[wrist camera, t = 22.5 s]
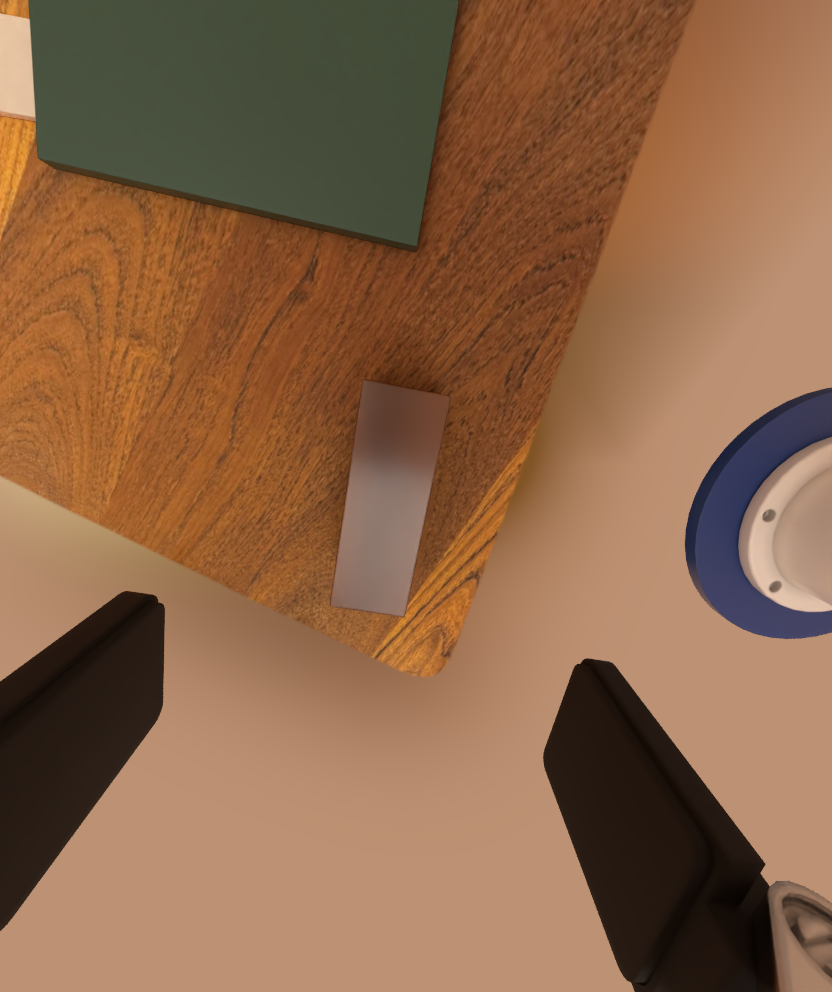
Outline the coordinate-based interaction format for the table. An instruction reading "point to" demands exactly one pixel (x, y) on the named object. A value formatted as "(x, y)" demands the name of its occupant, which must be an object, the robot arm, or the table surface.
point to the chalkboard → (250, 103)
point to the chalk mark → (16, 68)
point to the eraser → (387, 496)
